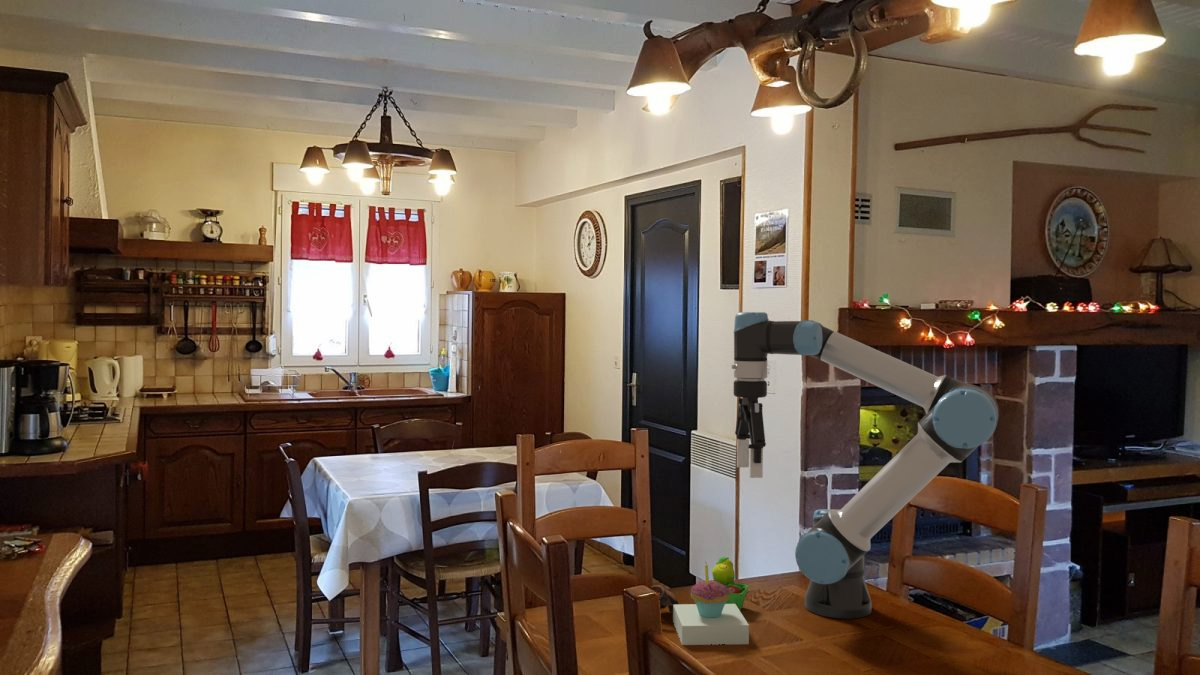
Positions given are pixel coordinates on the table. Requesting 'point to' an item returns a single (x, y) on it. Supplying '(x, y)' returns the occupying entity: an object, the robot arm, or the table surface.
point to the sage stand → (710, 626)
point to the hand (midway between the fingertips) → (749, 472)
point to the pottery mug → (665, 598)
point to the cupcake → (710, 596)
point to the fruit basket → (729, 581)
